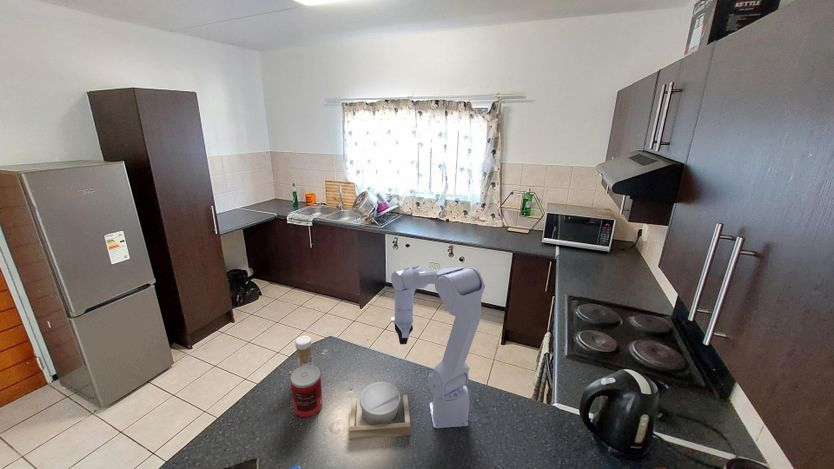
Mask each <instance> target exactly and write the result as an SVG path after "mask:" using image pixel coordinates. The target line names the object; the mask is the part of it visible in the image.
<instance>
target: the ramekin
mask: <svg viewBox="0 0 834 469" xmlns="http://www.w3.org/2000/svg"><path fill="white" fill-rule="evenodd" d="M400 404H401V394H400V391H399V389H398V387H396V386H395V385H394V384H392V383H389V382H386V381H377V382H372V383H370V384H368V385H367V386H365V387H364V388H363V390H362V391H361V393H360V397H359V405H360V408H361V413H362V415H363V418H364V420H366V422H368V423H370V425H378V424H390V423H392V421H393V420H394V419H395V418H396V416H397V414H398V411H399V407H400Z"/></svg>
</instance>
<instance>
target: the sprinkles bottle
mask: <svg viewBox="0 0 834 469" xmlns="http://www.w3.org/2000/svg"><path fill="white" fill-rule="evenodd" d="M294 342H295V349H296V358H297V360H296V361H297V366H298V367H297V368H299V367H301V366H305V365H313V366H314V359H313V353H312V352H313V351H312V338H311V337H310V336H308V335H301V336H299V337H297V338H296V339H295V341H294Z"/></svg>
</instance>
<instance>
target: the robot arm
mask: <svg viewBox="0 0 834 469" xmlns="http://www.w3.org/2000/svg"><path fill="white" fill-rule="evenodd" d="M390 279H391V285H392V287H393V288H394V316H391V317H390V322H391V323H393V324H394V330H395V332H396V334H397V336H398V341H399V344H400V345H407V344H408V340H409V338H410V336H411V335H410V334H411V333H412V331H413V330H414V326H413V323H414V296H415V295H414V294H415V292H416V290H418V289H425V288H427V286H428V285H434V289H435V291H436V292H437V294H438V296H439V297H440V299H441V301H442V302H443V304H444V306H445V308H446V310H447V311H448V313H449V314H450V315H451V316H453V317H454V320H453V324H452V327H451V330H450V333H449V336H448V340H447V343H446V347H445V351H444V352H443V357H442V360H441V361H440V362H438V364H437V365H436V366H434V368H433V369H432V372H430V373H429V374H428V376H427V383H428V388H429V390H430V392H431V393H432V395H433V401H432V402H429V410H430V417H431V422H432V426H433V428H434V429H443V428H457V427H469V422H468V421H469V412H470V393H469V390H468V387H467V384H468V383H469V379H470V377H469V371H470V366H469V365H468V363H467V362H466V361H467V358H468V355H469V352H470V350H471V346H472V343H473V341H474V339H475V336H476V333H477V329H478V328H479V327H478V326H479V324H480V321H481V318H482V297H483V294H484V291H485V288H486V284H485V282H484V280H483V277H482V276H481V272H479V270H478V269H477V268H475V267H473V266H469V267H464V266H458V267H456V266H455V267H454V266H453V267H446V268H439V269H434V270H427V269H426V268H424V267H420V266H419V265H415V266H412V267H411V268H410V267H405V268H404V269H402V270H401V269H400V270H397V271H394V272H392V273H391V277H390Z"/></svg>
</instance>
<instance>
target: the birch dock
mask: <svg viewBox="0 0 834 469" xmlns="http://www.w3.org/2000/svg"><path fill="white" fill-rule="evenodd" d="M402 407H403V408H402V409H403V420H404V422H395V423H392V422H391V423H387V424H378V425H374V424H370V425H369V424H367V425H356V424H357V409H358V399H357V397H352V398H351V407H350V408H351V409H350V418H349V428H348V429H349V431H348V434H349V435H348V436H349V437H348V438H349V441H352V440H353V441H354V440H365V439H377V438H389V437H391V438H392V437H401V436H402V437H403V436H411V419H410V418H411V417H410V409H409V401H408V394H403V395H402Z"/></svg>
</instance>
